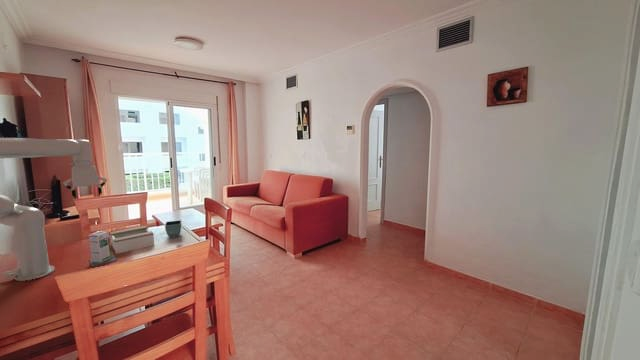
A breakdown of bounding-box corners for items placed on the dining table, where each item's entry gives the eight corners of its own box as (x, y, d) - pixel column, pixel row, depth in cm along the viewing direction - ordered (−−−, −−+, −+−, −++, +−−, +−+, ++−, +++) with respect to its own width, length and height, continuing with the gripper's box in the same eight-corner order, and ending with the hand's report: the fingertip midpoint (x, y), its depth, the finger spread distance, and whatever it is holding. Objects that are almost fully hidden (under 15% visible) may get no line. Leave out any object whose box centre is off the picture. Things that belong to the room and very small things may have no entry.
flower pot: (167, 234, 173) (166, 221, 172) (182, 233, 177) (181, 220, 176) (165, 239, 166) (164, 225, 164) (181, 237, 169) (180, 223, 168)
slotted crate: (116, 253, 144) (114, 240, 143) (111, 244, 157) (110, 232, 156) (154, 245, 157) (153, 232, 156) (147, 236, 169) (146, 225, 168)
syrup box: (101, 262, 133) (97, 235, 131) (91, 261, 134) (88, 234, 132) (112, 257, 138) (109, 231, 136) (103, 256, 139) (99, 230, 137)
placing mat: (91, 266, 130) (91, 266, 129) (89, 260, 137) (89, 259, 137) (116, 260, 136) (116, 259, 136) (114, 254, 144) (113, 253, 143)
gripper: (59, 165, 129) (64, 199, 132) (105, 163, 140) (109, 195, 143) (60, 164, 135) (65, 197, 137) (104, 162, 146) (108, 193, 149)
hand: (87, 196), depth 140 cm, fingers open, 9 cm apart
